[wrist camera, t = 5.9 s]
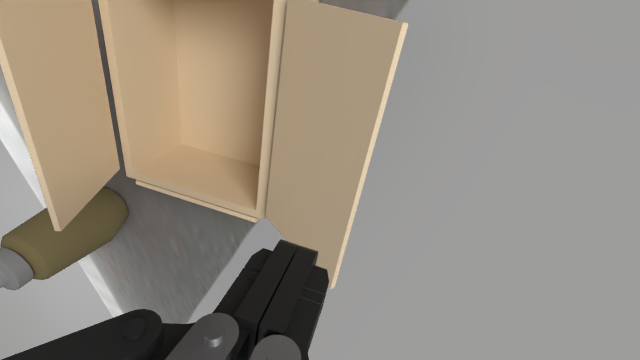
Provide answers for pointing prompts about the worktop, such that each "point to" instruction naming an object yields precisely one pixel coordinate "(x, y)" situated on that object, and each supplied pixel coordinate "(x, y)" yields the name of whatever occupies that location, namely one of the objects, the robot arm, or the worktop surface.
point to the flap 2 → (328, 122)
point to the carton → (197, 96)
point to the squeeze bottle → (58, 240)
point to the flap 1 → (59, 99)
